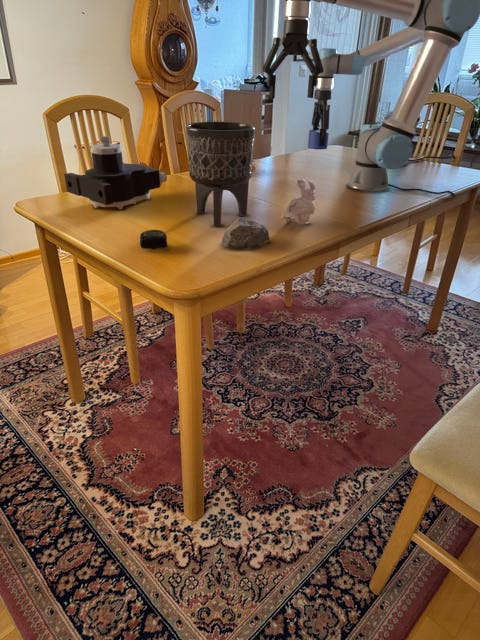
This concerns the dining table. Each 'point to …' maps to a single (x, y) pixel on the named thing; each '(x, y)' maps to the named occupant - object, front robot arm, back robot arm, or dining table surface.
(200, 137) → the planter
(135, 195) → the mechanical component
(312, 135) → the blue cylinder
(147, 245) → the tape measure
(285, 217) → the figurine
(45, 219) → the dining table surface
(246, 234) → the rock
